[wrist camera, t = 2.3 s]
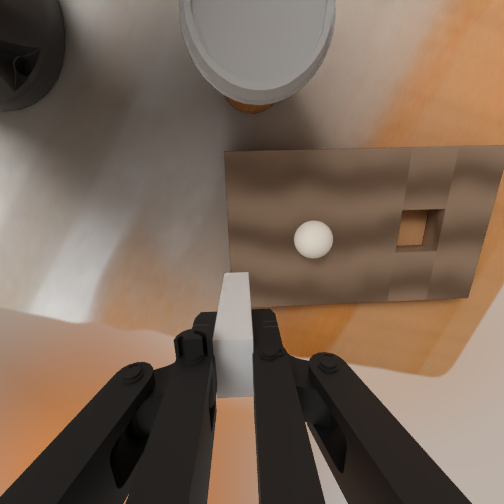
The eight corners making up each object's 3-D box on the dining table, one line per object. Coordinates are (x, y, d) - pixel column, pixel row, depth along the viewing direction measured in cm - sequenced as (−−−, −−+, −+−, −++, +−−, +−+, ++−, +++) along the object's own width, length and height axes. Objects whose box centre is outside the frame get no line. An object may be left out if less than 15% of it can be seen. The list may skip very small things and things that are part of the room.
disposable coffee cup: (284, 7, 24) (325, -147, 12) (306, 114, 27) (355, 71, 15) (190, 39, 24) (144, -80, 13) (221, 141, 27) (207, 119, 16)
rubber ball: (291, 218, 27) (299, 225, 24) (326, 216, 27) (340, 224, 24) (290, 252, 29) (298, 264, 25) (324, 251, 29) (337, 263, 25)
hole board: (225, 153, 27) (224, 151, 25) (487, 147, 28) (510, 145, 26) (233, 298, 33) (232, 308, 31) (452, 289, 34) (467, 297, 32)
